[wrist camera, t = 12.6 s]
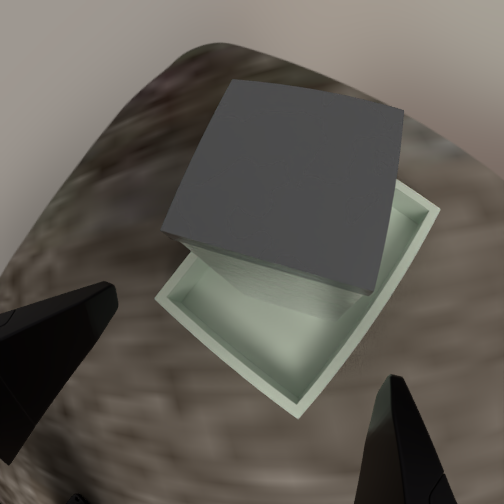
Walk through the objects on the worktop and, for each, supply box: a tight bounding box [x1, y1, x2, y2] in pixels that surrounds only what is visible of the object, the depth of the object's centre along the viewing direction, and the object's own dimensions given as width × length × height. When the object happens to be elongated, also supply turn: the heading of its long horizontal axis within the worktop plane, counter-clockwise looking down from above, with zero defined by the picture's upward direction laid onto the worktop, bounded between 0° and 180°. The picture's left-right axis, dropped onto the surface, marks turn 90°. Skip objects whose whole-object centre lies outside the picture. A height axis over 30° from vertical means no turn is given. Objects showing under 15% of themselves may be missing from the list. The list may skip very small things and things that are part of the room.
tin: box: [160, 79, 404, 322], centre depth 15 cm, size 6×6×12 cm
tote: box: [154, 179, 440, 419], centre depth 20 cm, size 15×11×3 cm
